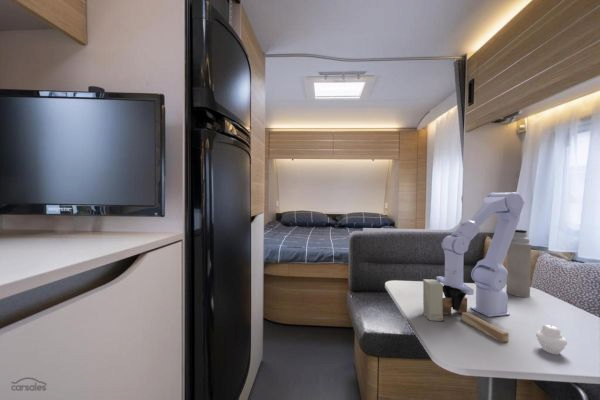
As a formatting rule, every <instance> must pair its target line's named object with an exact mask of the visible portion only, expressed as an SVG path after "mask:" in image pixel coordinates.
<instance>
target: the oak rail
mask: <svg viewBox="0 0 600 400" xmlns="http://www.w3.org/2000/svg"><path fill="white" fill-rule="evenodd" d="M462 320H463V321H462ZM461 321H462V322H464V323H466V324H468V325H470V326H471V325H472V327H473V326H474V327H473V328H475V327H476V328H475V329H476V330H478V331H480V330H481V331H480V332H482V331H483V334H486V335H488V336H490V337H491V338H494V339H495V340H497V341H499V342H501V343H509V337H510V336H509V335H510V334H509V332H507V331H506V330H504V329H501V328H499V327H498V326H497V325H496V326H495V325H494V324H492V323H489V322H487V321H485V320H484V319H481V318H479V317H478V316H476V315H474V314H472V313H469V311H467V312H464V313H461Z"/></svg>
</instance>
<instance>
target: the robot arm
mask: <svg viewBox="0 0 600 400" xmlns="http://www.w3.org/2000/svg"><path fill="white" fill-rule="evenodd" d="M524 205H525V201H524V199H523V197H522V195H521V194H520V193H519V192H517V191H514V192H513V191H511V192H490V193H488V195H486V197H484V198H483V203H482V205H481V206H480V207H479V208H478V209H477V211H475V213H474V215H473V216H472V217H471V218H470V219H469V220H464V221H461V222H460V223H459V224H460V225H458V227H457V228H456V229H455V230H454V231H453V232H452V233H451V235H446V237H443V239H442V242H440V244H441V248H442V249H443V254H444V276H436V280H437V281H438V282H440V283H441V284H443V296H444V298H449V297H452V307H451V309H452V310H453V311H455V310H459V308H460V305H461V302H462V300H463V298H464V297H466V296H473V295H474V288H472V287H470V286H469V285H467V284H466V283H464V261H465V260H464V257H465V255H464V254H465V253H466V252H467V251H468V250H469V245H470V244H471V241H472V240H473V239H474V238H475V237H476V235H477V234H479V232H480V226H481V225H482V224H484V223H485V222H486V221H487V220H488V219H489V218H490V217H491V216H492V215H495V216H497V218H498V222H497V225H496V227H495V230H494V234H493V235H492V238H491V242H490V244H489V246H488V250H487V252H486V255H485V258H483V259H480V260H478V261H477V262H476V264H475V266H474V267H473V268H472V269H471V273H470V276H471V279H472V280H473V281H474V285H475V305H471V306H469V309H472V310H474V311H476V312H478V313H479V314H481V315H484V316H486V317H488V318H490V317H500V316H501V317H502V316H510V313H509V312H508V306H509V305H508V303H509V296H508V293H507V292H506V289H504V288H505V287H506V286H507V274H508V271H507V268H506V267H505V266H504V262H505V259H506V257H507V252H508V249H509V246H510V243H511V241H512V238H513V235H514V233H515V230H517V227H518V225H519V222H520V216H521V213H522V210H523V207H524Z"/></svg>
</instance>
